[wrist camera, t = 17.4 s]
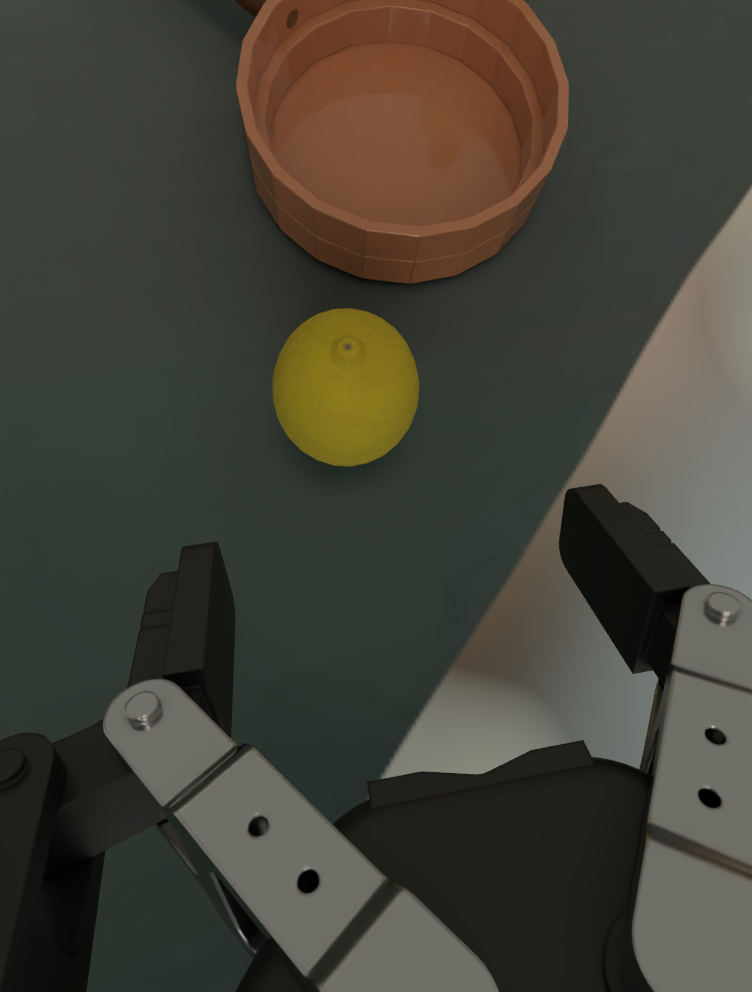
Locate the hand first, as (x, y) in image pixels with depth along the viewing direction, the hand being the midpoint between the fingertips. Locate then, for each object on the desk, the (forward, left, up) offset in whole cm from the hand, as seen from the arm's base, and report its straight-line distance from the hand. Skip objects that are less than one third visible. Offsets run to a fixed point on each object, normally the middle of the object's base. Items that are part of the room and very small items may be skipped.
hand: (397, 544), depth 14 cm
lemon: (-5, +4, -12) cm, 14 cm away
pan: (-12, +16, -12) cm, 24 cm away
